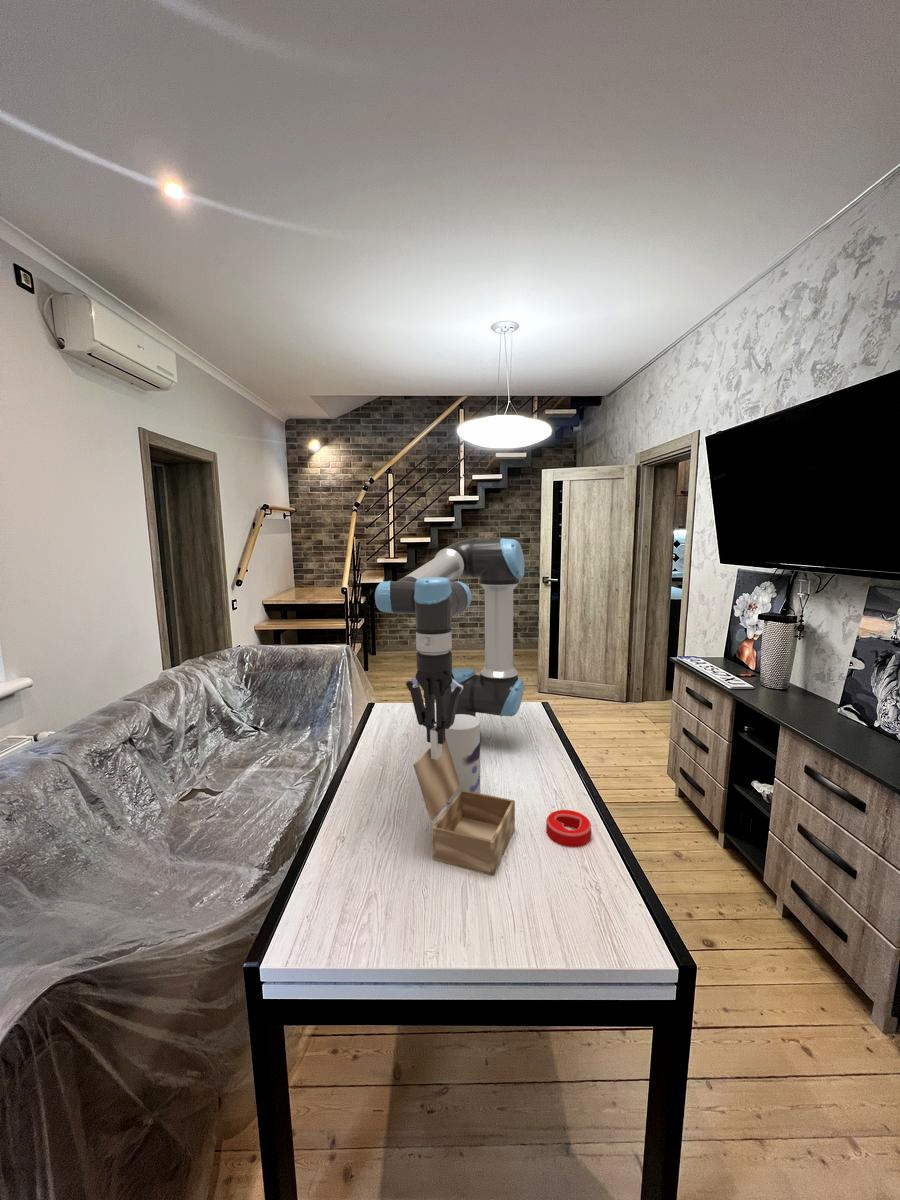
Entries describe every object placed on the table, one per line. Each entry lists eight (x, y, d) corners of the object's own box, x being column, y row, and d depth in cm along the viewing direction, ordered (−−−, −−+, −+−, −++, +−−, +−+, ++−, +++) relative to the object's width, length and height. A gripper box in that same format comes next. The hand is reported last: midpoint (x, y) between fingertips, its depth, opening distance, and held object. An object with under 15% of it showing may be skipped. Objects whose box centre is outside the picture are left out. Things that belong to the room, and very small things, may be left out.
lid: (460, 784, 113) (457, 785, 113) (444, 735, 112) (442, 735, 113) (432, 821, 99) (430, 821, 99) (415, 764, 98) (412, 764, 99)
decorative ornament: (598, 833, 108) (599, 820, 107) (576, 854, 101) (577, 840, 100) (561, 816, 114) (561, 804, 114) (537, 834, 107) (538, 821, 107)
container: (477, 808, 118) (476, 730, 115) (437, 804, 120) (435, 727, 117) (482, 787, 127) (482, 714, 125) (445, 784, 129) (444, 712, 127)
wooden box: (461, 817, 114) (460, 789, 113) (514, 829, 109) (514, 800, 108) (432, 859, 99) (432, 828, 98) (493, 875, 94) (493, 842, 93)
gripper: (398, 652, 101) (401, 759, 104) (456, 657, 96) (458, 769, 99) (414, 644, 108) (417, 745, 111) (469, 649, 103) (470, 754, 106)
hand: (436, 756), depth 105 cm, fingers closed
